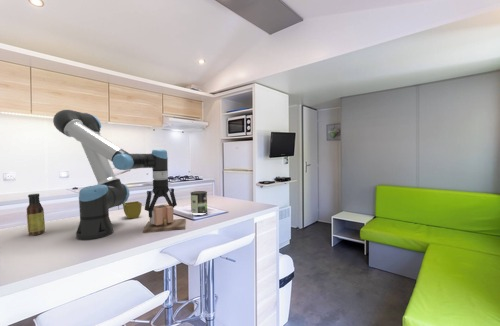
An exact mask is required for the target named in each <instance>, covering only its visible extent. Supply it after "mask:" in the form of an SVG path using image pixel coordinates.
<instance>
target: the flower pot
mask: <svg viewBox="0 0 500 326" xmlns="http://www.w3.org/2000/svg"><path fill="white" fill-rule="evenodd" d="M142 205H143V204H142V202H140V201H129V202H128V201H127V202H125V203H123V204H122V207H123V213H124V215H125V217H126V218H127V219H130V220H131V219H135V218H139V217H140V215H141V213H142V207H143V206H142Z"/></svg>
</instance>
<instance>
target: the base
mask: <svg viewBox="0 0 500 326" xmlns="http://www.w3.org/2000/svg"><path fill="white" fill-rule="evenodd" d="M162 207H164V204H160V205H159V208H162ZM173 220H174V222H170V223H167V219H163V224H161V225H155V224H152V223H151V222H150V220H149V221H147V222H146V224H145V225H144V227H143V228H142V234H146V233H156V232H167V231H180V230H186V221H187V219H186V218H179V219H177V218H176V219H173Z"/></svg>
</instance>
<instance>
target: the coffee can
mask: <svg viewBox="0 0 500 326" xmlns="http://www.w3.org/2000/svg"><path fill="white" fill-rule="evenodd" d="M190 209H191V210H190V212H192V213H206V212H207V213H208V191H207V190H197V191H196V190H195V191H190Z"/></svg>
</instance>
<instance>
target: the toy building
mask: <svg viewBox="0 0 500 326" xmlns="http://www.w3.org/2000/svg"><path fill="white" fill-rule="evenodd" d="M163 205H164V207H162V208H159V205H158V204H157V205H155V206H154V208H153V210H152V211H154V224H155V225H161V224H163V219H167V223H170V222H174V220H175V219H174V208H173V207H172V206H169V204H168V203H167V204H165V203H164V204H163ZM149 221H150V222H151V218H150V217H149Z"/></svg>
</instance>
